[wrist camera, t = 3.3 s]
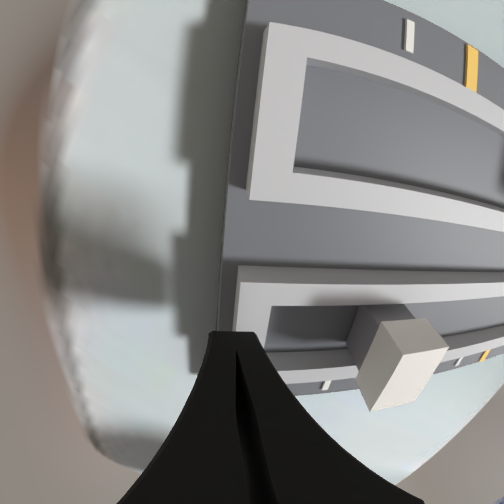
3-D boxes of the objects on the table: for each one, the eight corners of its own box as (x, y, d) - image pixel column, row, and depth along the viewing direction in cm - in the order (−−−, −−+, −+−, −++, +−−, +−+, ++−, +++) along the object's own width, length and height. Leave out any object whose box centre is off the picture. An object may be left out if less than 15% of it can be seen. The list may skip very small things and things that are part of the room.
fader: (381, 345, 12) (413, 401, 9) (341, 349, 12) (369, 411, 9) (403, 292, 11) (449, 346, 8) (361, 292, 10) (402, 355, 8)
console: (505, 340, 17) (520, 357, 15) (214, 378, 13) (216, 415, 11) (572, 142, 10) (594, 151, 8) (249, -18, 7) (258, -47, 5)
